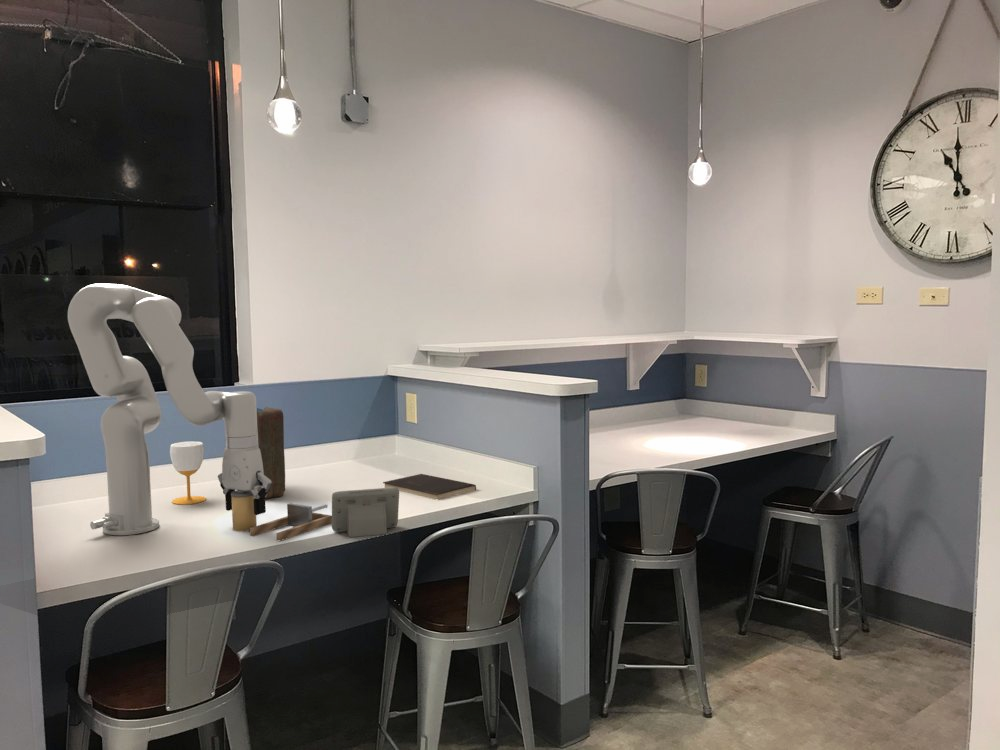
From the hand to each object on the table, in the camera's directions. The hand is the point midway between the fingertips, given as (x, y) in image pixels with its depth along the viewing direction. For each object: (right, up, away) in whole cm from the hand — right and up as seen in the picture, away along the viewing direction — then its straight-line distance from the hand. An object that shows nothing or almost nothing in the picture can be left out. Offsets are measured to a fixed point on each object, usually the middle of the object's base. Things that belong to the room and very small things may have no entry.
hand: (245, 511), depth 200 cm
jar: (0, -4, 0) cm, 4 cm away
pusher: (+15, -3, +5) cm, 16 cm away
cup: (-25, -2, +28) cm, 38 cm away
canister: (-7, -1, +37) cm, 37 cm away
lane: (+12, -4, -1) cm, 12 cm away
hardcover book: (+41, -1, +41) cm, 58 cm away
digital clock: (+30, -5, -3) cm, 30 cm away
